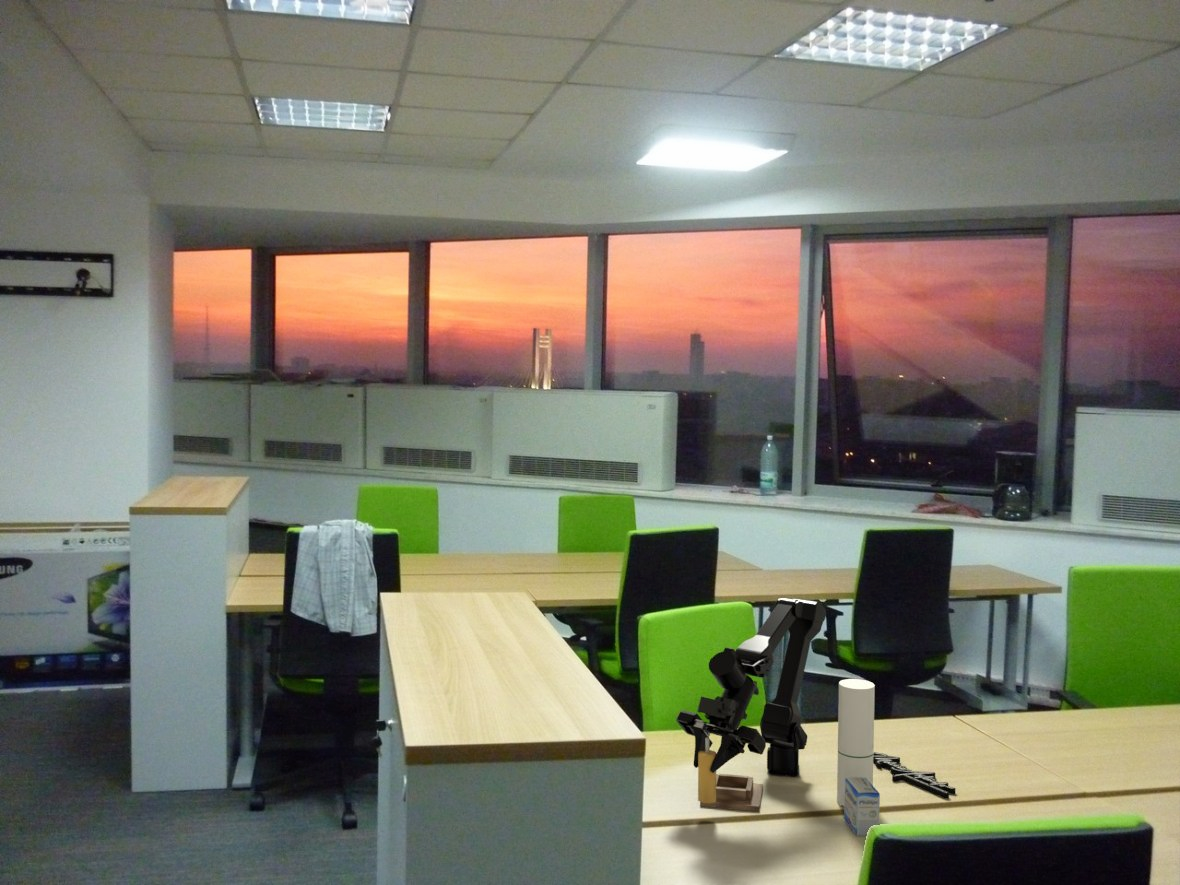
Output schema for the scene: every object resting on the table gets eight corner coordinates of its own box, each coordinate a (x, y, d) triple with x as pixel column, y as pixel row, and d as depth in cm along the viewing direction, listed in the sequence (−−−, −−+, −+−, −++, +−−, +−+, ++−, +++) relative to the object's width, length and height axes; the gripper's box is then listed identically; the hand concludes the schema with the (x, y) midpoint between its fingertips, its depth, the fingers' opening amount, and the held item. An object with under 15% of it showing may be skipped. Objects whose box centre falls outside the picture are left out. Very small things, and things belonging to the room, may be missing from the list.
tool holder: (762, 788, 222) (763, 773, 222) (759, 811, 211) (759, 795, 210) (706, 783, 225) (707, 769, 225) (700, 805, 213) (700, 790, 213)
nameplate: (842, 755, 239) (873, 746, 244) (842, 761, 239) (873, 753, 244) (938, 796, 216) (970, 786, 221) (938, 803, 216) (970, 793, 221)
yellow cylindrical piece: (717, 796, 209) (717, 736, 208) (715, 803, 206) (715, 742, 205) (699, 795, 210) (699, 734, 209) (696, 802, 206) (697, 740, 206)
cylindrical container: (873, 798, 217) (875, 680, 216) (871, 811, 211) (873, 690, 209) (838, 793, 220) (840, 677, 218) (835, 806, 213) (837, 687, 211)
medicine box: (843, 819, 207) (844, 777, 206) (865, 818, 207) (866, 776, 207) (856, 837, 199) (857, 792, 199) (879, 836, 200) (880, 792, 199)
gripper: (681, 671, 215) (648, 738, 208) (758, 689, 203) (726, 760, 196) (703, 700, 222) (671, 765, 214) (779, 719, 210) (749, 788, 202)
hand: (703, 769), depth 206 cm, fingers closed on yellow cylindrical piece, 4 cm apart
